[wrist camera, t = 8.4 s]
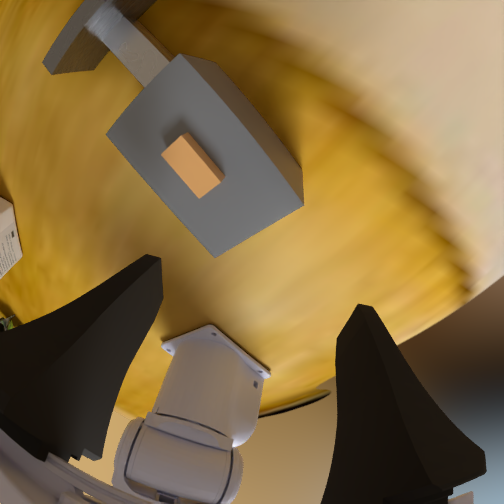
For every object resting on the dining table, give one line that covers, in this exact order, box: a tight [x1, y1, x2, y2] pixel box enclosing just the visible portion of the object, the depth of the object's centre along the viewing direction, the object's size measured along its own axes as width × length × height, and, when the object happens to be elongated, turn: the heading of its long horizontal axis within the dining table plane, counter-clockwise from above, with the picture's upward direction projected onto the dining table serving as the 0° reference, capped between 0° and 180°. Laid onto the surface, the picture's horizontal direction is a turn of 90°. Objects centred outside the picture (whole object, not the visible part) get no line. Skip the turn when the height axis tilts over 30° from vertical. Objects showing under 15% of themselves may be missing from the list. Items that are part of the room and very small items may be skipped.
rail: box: [42, 0, 175, 88], centre depth 12 cm, size 16×7×4 cm, turn 39°
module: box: [106, 53, 304, 258], centre depth 12 cm, size 8×5×6 cm, turn 39°
